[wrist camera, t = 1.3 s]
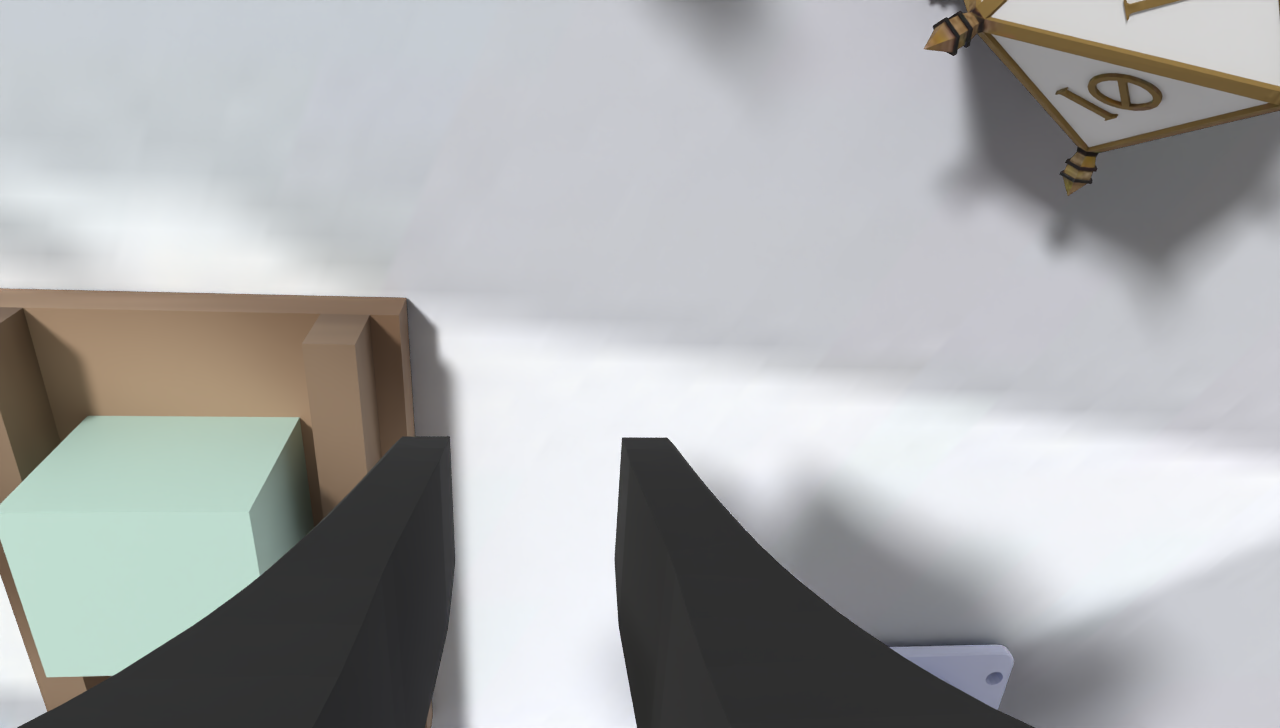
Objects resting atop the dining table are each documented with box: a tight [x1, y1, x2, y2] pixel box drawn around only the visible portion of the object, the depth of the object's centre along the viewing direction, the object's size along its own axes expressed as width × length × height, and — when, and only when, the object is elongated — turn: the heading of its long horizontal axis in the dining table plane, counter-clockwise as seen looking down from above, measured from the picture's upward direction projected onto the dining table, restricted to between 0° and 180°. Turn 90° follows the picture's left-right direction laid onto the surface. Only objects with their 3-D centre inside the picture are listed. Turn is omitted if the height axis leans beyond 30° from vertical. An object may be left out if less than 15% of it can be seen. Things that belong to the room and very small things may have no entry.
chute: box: [0, 289, 433, 728], centre depth 19 cm, size 13×9×4 cm
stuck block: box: [0, 416, 314, 677], centre depth 18 cm, size 4×4×4 cm
